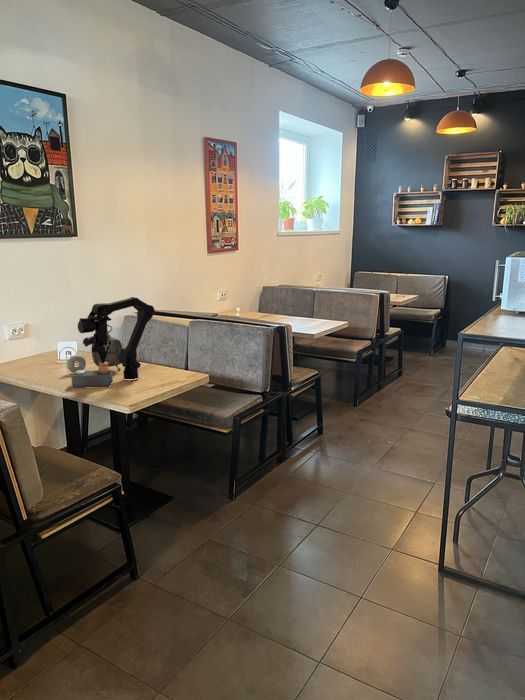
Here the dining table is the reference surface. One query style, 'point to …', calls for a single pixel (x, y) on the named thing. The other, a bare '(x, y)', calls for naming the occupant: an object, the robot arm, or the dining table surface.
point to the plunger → (80, 372)
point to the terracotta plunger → (103, 368)
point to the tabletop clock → (110, 353)
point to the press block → (92, 379)
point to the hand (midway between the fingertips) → (103, 362)
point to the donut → (73, 359)
